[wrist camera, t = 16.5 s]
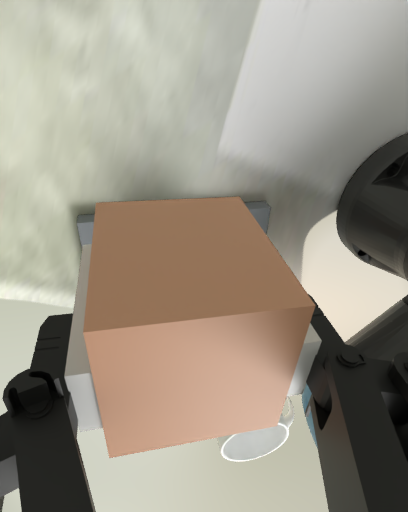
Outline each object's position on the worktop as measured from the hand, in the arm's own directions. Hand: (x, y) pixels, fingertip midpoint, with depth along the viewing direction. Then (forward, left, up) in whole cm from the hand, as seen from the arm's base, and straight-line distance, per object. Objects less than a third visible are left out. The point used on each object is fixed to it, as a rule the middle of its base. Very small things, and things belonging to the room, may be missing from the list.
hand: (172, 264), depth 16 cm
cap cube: (0, 0, 0) cm, 0 cm away
